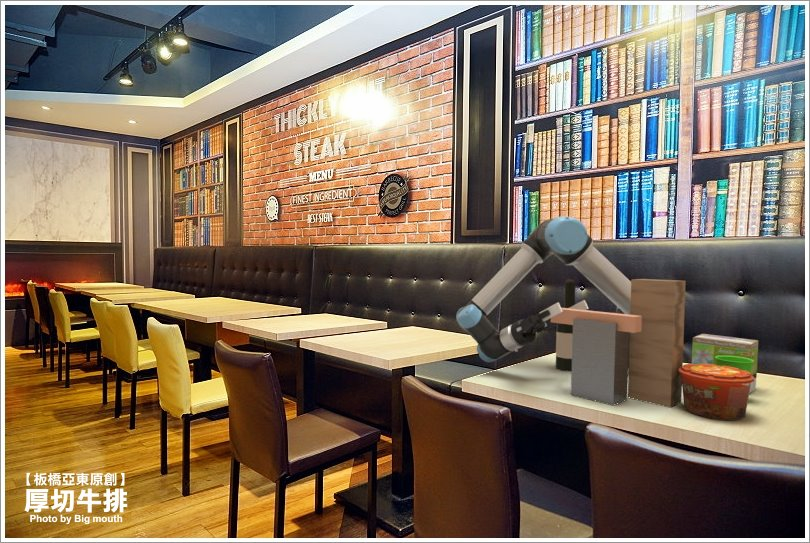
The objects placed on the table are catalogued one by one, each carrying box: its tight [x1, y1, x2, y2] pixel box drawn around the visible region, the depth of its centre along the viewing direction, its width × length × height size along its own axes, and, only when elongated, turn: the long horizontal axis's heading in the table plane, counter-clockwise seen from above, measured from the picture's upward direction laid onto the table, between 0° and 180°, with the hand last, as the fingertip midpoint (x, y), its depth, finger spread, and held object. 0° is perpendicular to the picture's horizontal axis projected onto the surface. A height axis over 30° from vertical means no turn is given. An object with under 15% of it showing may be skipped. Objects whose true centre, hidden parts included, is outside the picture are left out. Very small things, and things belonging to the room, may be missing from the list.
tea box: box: [690, 333, 759, 394], centre depth 151 cm, size 15×10×15 cm, turn 45°
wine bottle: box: [555, 279, 576, 372], centre depth 172 cm, size 8×8×30 cm
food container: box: [678, 363, 754, 421], centre depth 126 cm, size 16×16×11 cm
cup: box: [715, 355, 754, 373], centre depth 139 cm, size 9×9×11 cm
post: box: [627, 278, 687, 408], centre depth 136 cm, size 7×11×32 cm, turn 41°
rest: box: [570, 318, 629, 406], centre depth 137 cm, size 8×12×21 cm, turn 41°
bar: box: [551, 307, 642, 333], centre depth 139 cm, size 4×24×4 cm, turn 41°
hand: (573, 305), depth 143 cm, fingers open, 13 cm apart
